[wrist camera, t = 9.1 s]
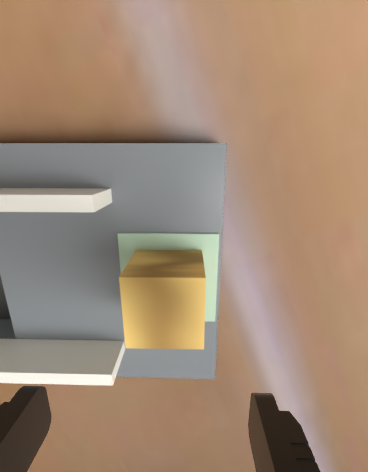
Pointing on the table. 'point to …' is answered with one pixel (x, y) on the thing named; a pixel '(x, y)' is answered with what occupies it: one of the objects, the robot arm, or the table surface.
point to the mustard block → (164, 299)
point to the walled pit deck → (100, 254)
